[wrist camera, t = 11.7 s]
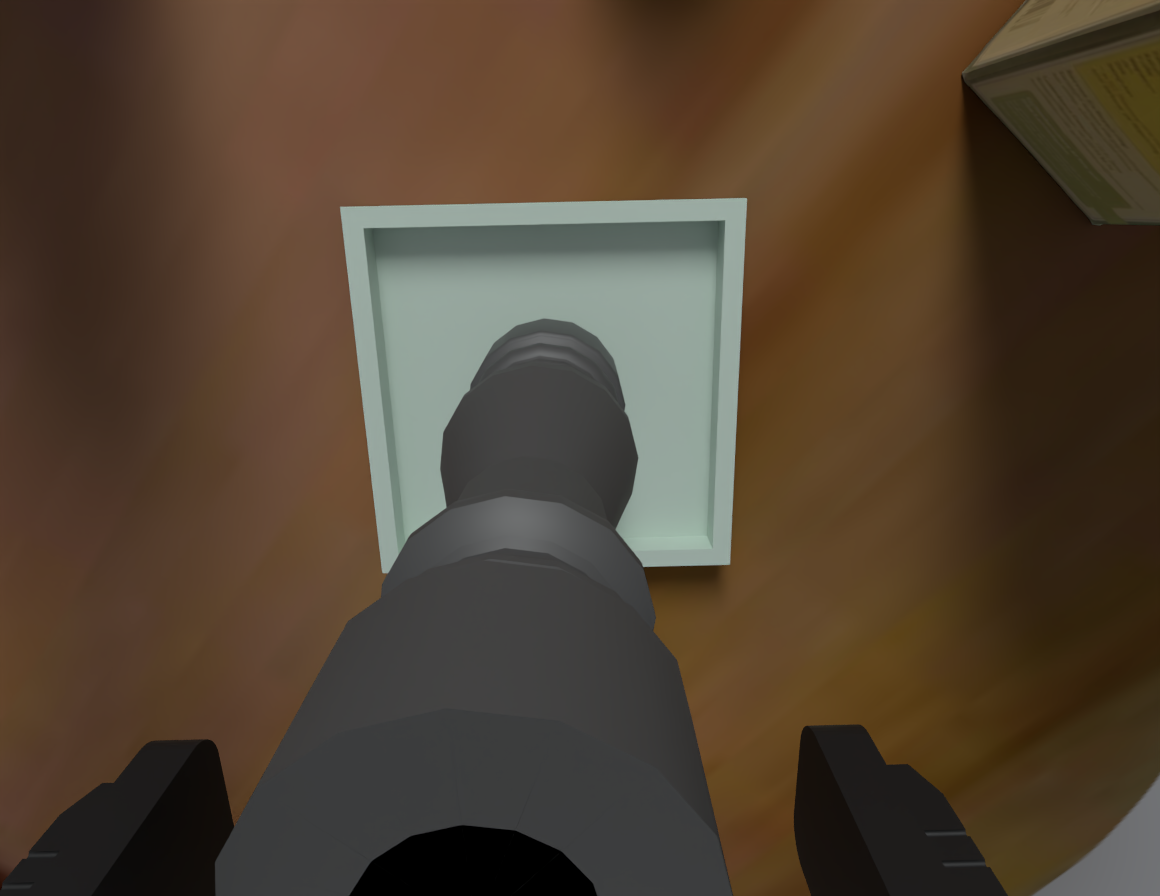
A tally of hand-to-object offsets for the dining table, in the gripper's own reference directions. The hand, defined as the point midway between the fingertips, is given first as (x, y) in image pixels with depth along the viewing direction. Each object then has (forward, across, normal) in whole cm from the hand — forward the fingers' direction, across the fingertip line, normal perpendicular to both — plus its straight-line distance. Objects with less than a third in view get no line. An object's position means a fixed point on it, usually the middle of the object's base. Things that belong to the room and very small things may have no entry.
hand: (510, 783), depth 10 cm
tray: (+23, 0, 0) cm, 23 cm away
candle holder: (+23, 0, 0) cm, 23 cm away
